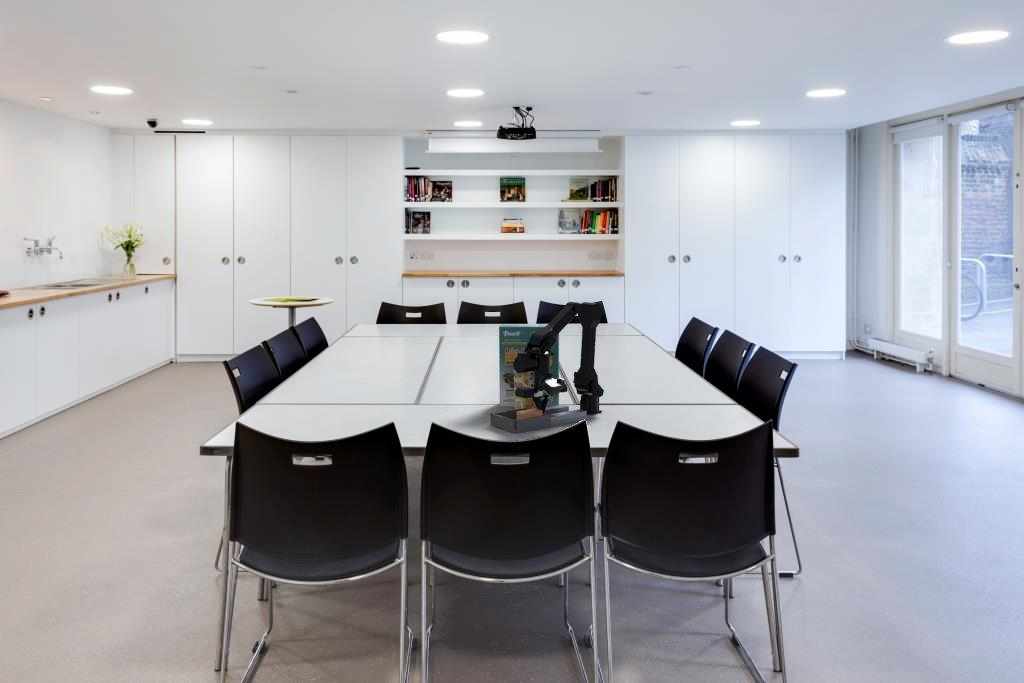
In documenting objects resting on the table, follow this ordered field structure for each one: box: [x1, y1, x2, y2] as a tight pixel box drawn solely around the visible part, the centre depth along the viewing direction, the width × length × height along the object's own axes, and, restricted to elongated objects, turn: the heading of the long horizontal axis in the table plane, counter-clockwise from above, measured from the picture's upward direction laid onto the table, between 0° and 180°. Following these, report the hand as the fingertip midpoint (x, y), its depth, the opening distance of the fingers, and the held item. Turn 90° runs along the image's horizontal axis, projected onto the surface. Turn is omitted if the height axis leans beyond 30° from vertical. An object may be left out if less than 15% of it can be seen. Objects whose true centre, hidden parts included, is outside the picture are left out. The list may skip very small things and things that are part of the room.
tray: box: [490, 408, 552, 435], centre depth 284 cm, size 15×14×4 cm
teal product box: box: [498, 324, 560, 408], centre depth 315 cm, size 22×6×30 cm, turn 84°
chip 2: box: [527, 408, 542, 417], centre depth 287 cm, size 4×4×4 cm
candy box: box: [513, 370, 536, 410], centre depth 309 cm, size 9×4×15 cm, turn 150°
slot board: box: [542, 404, 588, 428], centre depth 293 cm, size 16×14×3 cm
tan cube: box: [517, 410, 533, 420], centre depth 285 cm, size 4×4×4 cm
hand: (541, 414), depth 289 cm, fingers closed
